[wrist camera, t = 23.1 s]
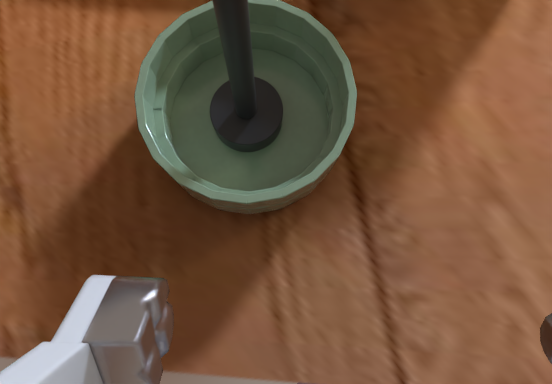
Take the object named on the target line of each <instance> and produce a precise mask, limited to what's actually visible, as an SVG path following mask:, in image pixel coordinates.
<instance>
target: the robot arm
mask: <svg viewBox="0 0 552 384" xmlns="http://www.w3.org/2000/svg"><path fill="white" fill-rule="evenodd" d="M168 294H169V286H168V282H167V279H164V278H151V277H133V276H106V275H92V276H91V277H89V278H88V279H87V280H86V281H85V283H84V285H83V286H82V288H81V290H80V292H79V293H78V295H77V297H76V299H75V300H74V302H73V304H72V305H71V307H70V309H69V311H68V312H67V314H66V316H65V318H64V319H63V321H62V323H61V325H60V326H59V328H58V330H57V332H56V333H55V335H54V337H53V339H52V340H51V342H42V343H40V344H39V345H38V346H36V347H35V348H33V349H32V350H31V351H29V352H28V353H26V354H25V355H23V356H22V357H21V358H19V359H18V360H16V361H15V362H14V363H12V364H11V365H9V366H8V367H7V368H5V369H4V370H2V371H1V372H0V384H159V383H160V380H161V376H162V373H163V368H162V363H161V357H163V356H164V355H165V354H166V353H167V352H168V351H169V348H170V344H171V340H172V334H173V326H174V314H173V308H172V305H171V304H170V303H168V302H167V298H168ZM540 341H541V345H542V348H543V351H544V353H545V354H546V356H547V358H548V360H549V361H550V363H551V364H552V313H551V314H550V315H548V316H547V317H545V319H544V321H543V323H542V325H541V327H540Z"/></svg>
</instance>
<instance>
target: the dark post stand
mask: <svg viewBox="0 0 552 384" xmlns="http://www.w3.org/2000/svg"><path fill="white" fill-rule="evenodd" d="M212 1H213V6H214V10H215V15H216V20H217V25H218V29H219V34H220V39H221V43H222V48H223V53H224V57H225V62H226V67H227V71H228V76H229V80H228V81H227V82H225V83H224V84H223V85H221V86H220V87H219V88H218V89H217V91H216V92H215V94H214V96H213V98H212V100H211V104H210V118H211V122H212V124H213V127H214V129H215V132H216V134H217V136H218V137H219V139H220V140H221V141H222V142H223V143H224V144H225V145H226V146H228V147H230V148H231V149H234V150H236V151H240V152H255V151H259V150H261V149H264V148H265V147H267V146H269V145H270V144H271V143H272V142H273V141H274V140H275V139H276V138H277V136H278V134H279V132H280V130H281V127H282V120H283V104H282V100H281V97H280V95H279V94H278V92H277V91H276V89H275V88H274V87H273V86H272V85H271V84H269V83H268V82H267V81H265V80H263V79H260V78H258V77H254V68H253V55H252V43H251V31H250V19H249V7H248V0H212Z"/></svg>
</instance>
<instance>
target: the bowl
mask: <svg viewBox="0 0 552 384" xmlns="http://www.w3.org/2000/svg"><path fill="white" fill-rule="evenodd" d="M248 7H249V19H250V31H251V43H252V55H253V68H254V77H258V78H260V79H263V80H265V81H267V82H268V83H269V84H271V85H272V86H273V87H274V88H275V89H276V91H277V92H278V94H279V95H280V97H281V100H282V104H283V120H282V127H281V130H280V132H279V134H278V136H277V138H276V139H275V140H274V141H273V142H272V143H271V144H270V145H269V146H267V147H265V148H264V149H261V150H259V151H255V152H240V151H236V150H234V149H231V148H230V147H228V146H226V145H225V144H224V143H223V142H222V141H221V140H220V139H219V137H218V136H217V134H216V132H215V129H214V127H213V124H212V122H211V118H210V104H211V100H212V98H213V96H214V94H215V92H216V91H217V89H218V88H219V87H220V86H221V85H223V84H224V83H225V82H227V81H228V80H229V76H228V71H227V67H226V62H225V57H224V53H223V48H222V43H221V39H220V34H219V29H218V25H217V20H216V15H215V10H214V6H213V1H210V2H208V3H206V4H204V5H201V6H199V7H197V8H195V9H193V10H191V11H188V12H186V13H184V14H182V15H181V16H180V17H179V18H178V19H177V20H175V21H174V22H173V23H172V24H171V25H170V26H169V27H167V28H166V29H165V30H164V31H163V32H162V33H161V34H160V35H159V36H158V37H157V39H156V40H155V42H154V44H153V45H152V47H151V49H150V50H149V52H148V54H147V55H146V57H145V59H144V60H143V62H142V64H141V68H140V72H139V77H138V81H137V86H136V90H135V106H136V114H137V122H138V128H139V131H140V133H141V135H142V137H143V139H144V141H145V143H146V145H147V147H148V149H149V151H150V153H151V155H152V157H153V159H154V160H155V161H156V162H157V163H158V164H159V165H160V166H161V167H162V168H163V169H164V170H165V171H166V172H167V173H168V174H169V175H170V176H171V177H172V178H173V179H174V180H175V181H176V182H177V183H178V184H179V185H180V186H181V187H182V188H184V189H185V190H186V191H187V192H188V193H189V194H190V195H191V196H192V197H194V198H196V199H198V200H200V201H202V202H204V203H206V204H208V205H210V206H212V207H214V208H216V209H218V210H223V211H230V212H237V213H244V214H255V213H261V212H267V211H272V210H278V209H282V208H284V207H286V206H288V205H290V204H292V203H294V202H295V201H297V200H299V199H301V198H303V197H305V196H307V195H308V194H310V192H311V191H312V190H313V189H314V188H315V187H316V186H317V185H318V184H319V183H320V182H321V181H322V180H323V179H324V178H325V177H326V176H327V175H328V174H329V172H330V171H331V169H332V167H333V166H334V164H335V162H336V161H337V159H338V157H339V156H340V154H341V151H342V149H343V147H344V145H345V143H346V141H347V139H348V137H349V134H350V132H351V130H352V128H353V125H354V118H355V109H356V99H357V90H356V86H355V81H354V77H353V73H352V68H351V64H350V62H349V59H348V58H347V56H346V54H345V53H344V51H343V50H342V48H341V46H340V45H339V43H338V41H337V40H336V38H335V37H334V35H333V34H332V33H331V32H330V31H329V30H328V29H327V28H325V27H324V26H323V25H322V24H321V23H320V22H318V21H317V20H316V19H315V18H314V17H313V16H311V15H310V14H309V13H308V12H305V11H303V10H301V9H299V8H296V7H294V6H292V5H289V4H287V3H285V2H283V1H280V0H248Z"/></svg>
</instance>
